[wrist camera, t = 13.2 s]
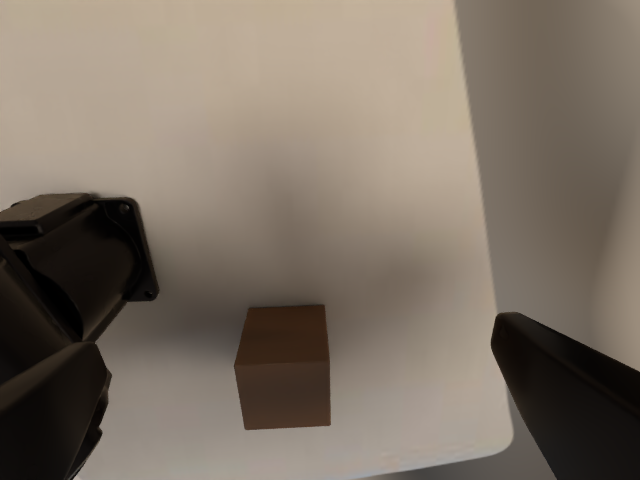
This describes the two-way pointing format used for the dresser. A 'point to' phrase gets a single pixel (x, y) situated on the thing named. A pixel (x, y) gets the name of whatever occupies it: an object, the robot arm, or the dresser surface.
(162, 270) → the dresser surface
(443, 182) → the dresser surface
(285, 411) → the block
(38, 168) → the dresser surface
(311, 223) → the dresser surface
